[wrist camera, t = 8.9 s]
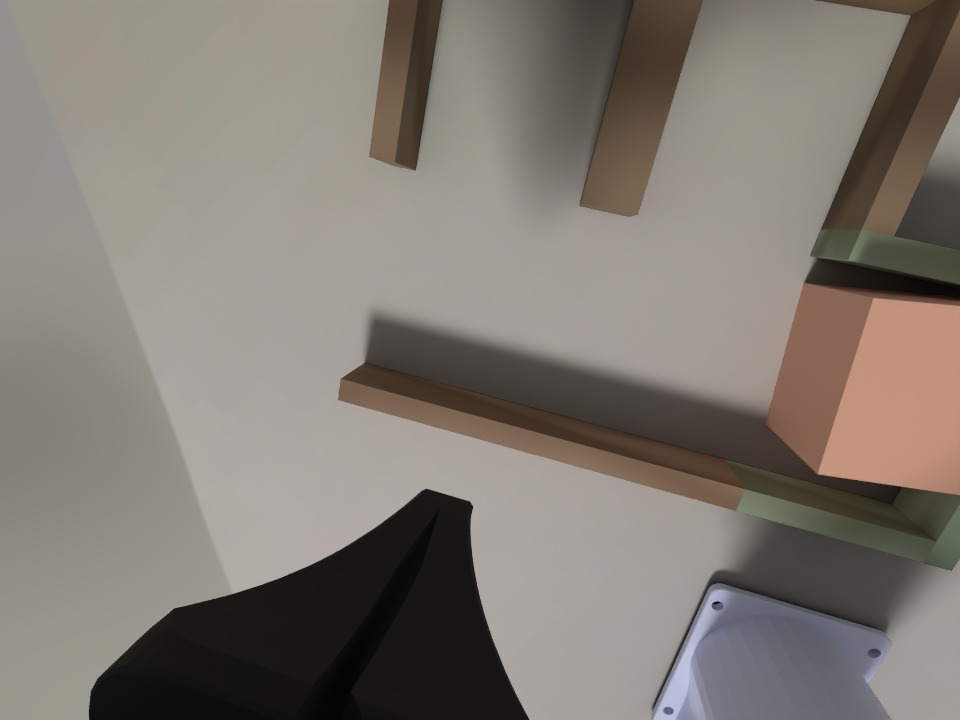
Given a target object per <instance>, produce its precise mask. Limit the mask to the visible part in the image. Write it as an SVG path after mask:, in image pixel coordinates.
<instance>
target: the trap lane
mask: <svg viewBox="0 0 960 720" xmlns="http://www.w3.org/2000/svg"><path fill="white" fill-rule="evenodd" d="M817 1H824V2H830V3H836V4H843V5H849V6H855V7H861V8H868V9H874V10H880V11H886V12H893V13H899V14H905V15H912V16H911V19H910V21H909V24H908V26H907V28H906V31H905V33H904V35H903V38H902V40H901V43H900V45H899V47H898V50H897V52H896V54H895V57H894V59H893V61H892V64H891V66H890V69H889V71H888V73H887V76H886V78H885V80H884V83H883V85H882V88H881V90H880V92H879V95H878V97H877V99H876V102H875V104H874V106H873V109H872V111H871V114H870V116H869V118H868V121H867V123H866V125H865V128H864V130H863V133H862V135H861V137H860V140H859V142H858V144H857V147H856V149H855V151H854V154H853V156H852V159H851V161H850V163H849V166H848V168H847V170H846V173H845V175H844V178H843V180H842V182H841V185H840V187H839V189H838V192H837V194H836V196H835V199H834V201H833V204H832V206H831V208H830V211H829V213H828V215H827V218H826V220H825V223H824V225H823V227H822V230H821V232H820V234H819V237H818V239H817V241H816V244H815V246H814V249H813V251H812V253H811V256H812V257H817V258H822V259H826V260H831V261H835V262H840V263H845V264H849V265H854V266H858V267H863V268H868V269H872V270H877V271H882V272H886V273H891V274H895V275H900V276H905V277H909V278H914V279H918V280H923V281H928V282H932V283H937V284H941V285H946V286H951V287H955V288H960V250H957V249H953V248H948V247H943V246H938V245H933V244H929V243H924V242H919V241H914V240H909V239H905V238H900V237H895V236H894V235H895V233H896V231H897V229H898V227H899V225H900V223H901V221H902V218H903V216H904V214H905V212H906V210H907V208H908V206H909V204H910V201H911V199H912V197H913V195H914V193H915V191H916V189H917V187H918V184H919V182H920V180H921V178H922V176H923V174H924V172H925V170H926V167H927V165H928V163H929V161H930V159H931V157H932V155H933V153H934V150H935V148H936V146H937V144H938V142H939V140H940V138H941V136H942V133H943V131H944V129H945V127H946V125H947V123H948V121H949V119H950V116H951V114H952V112H953V110H954V108H955V106H956V104H957V102H958V99H959V97H960V0H817ZM701 4H702V0H634V1H633V4H632V8H631V12H630V16H629V19H628V23H627V27H626V31H625V35H624V38H623V42H622V46H621V50H620V54H619V57H618V61H617V65H616V69H615V72H614V76H613V80H612V84H611V88H610V91H609V95H608V99H607V103H606V107H605V110H604V114H603V118H602V122H601V125H600V129H599V133H598V137H597V141H596V144H595V148H594V152H593V156H592V160H591V163H590V167H589V171H588V175H587V179H586V182H585V186H584V190H583V194H582V197H581V201H580V205H579V206H582V207H586V208H591V209H596V210H600V211H605V212H610V213H614V214H619V215H623V216H628V217H629V216H634V215H638V212H639V209H640V206H641V202H642V199H643V196H644V192H645V189H646V186H647V182H648V179H649V176H650V172H651V169H652V166H653V163H654V159H655V156H656V153H657V149H658V146H659V143H660V139H661V136H662V133H663V129H664V126H665V123H666V120H667V116H668V113H669V110H670V106H671V103H672V100H673V96H674V93H675V90H676V86H677V83H678V80H679V77H680V73H681V70H682V67H683V63H684V60H685V57H686V53H687V50H688V47H689V43H690V40H691V37H692V34H693V30H694V27H695V24H696V20H697V17H698V14H699V10H700V7H701ZM441 5H442V0H389V7H388V15H387V23H386V31H385V39H384V46H383V54H382V62H381V70H380V78H379V85H378V93H377V101H376V109H375V116H374V124H373V132H372V140H371V148H370V155H369V157H372V158H374V159H377V160H380V161H382V162H385V163H388V164H390V165H393V166H398V167H402V168H407V169H411V170H416V164H417V157H418V151H419V145H420V138H421V132H422V126H423V119H424V113H425V107H426V100H427V94H428V88H429V81H430V75H431V69H432V62H433V56H434V50H435V43H436V37H437V30H438V24H439V18H440V11H441ZM338 400H340V401H344V402H347V403H351V404H355V405H358V406H362V407H365V408H369V409H373V410H376V411H380V412H383V413H387V414H390V415H394V416H398V417H401V418H405V419H408V420H412V421H416V422H419V423H423V424H426V425H430V426H434V427H437V428H441V429H444V430H448V431H452V432H455V433H459V434H462V435H466V436H469V437H473V438H477V439H480V440H484V441H487V442H491V443H495V444H498V445H502V446H505V447H509V448H513V449H516V450H520V451H523V452H527V453H530V454H534V455H538V456H541V457H545V458H548V459H552V460H556V461H559V462H563V463H566V464H570V465H574V466H577V467H581V468H584V469H588V470H591V471H595V472H599V473H602V474H606V475H609V476H613V477H617V478H620V479H624V480H627V481H631V482H635V483H638V484H642V485H645V486H649V487H652V488H656V489H660V490H663V491H667V492H670V493H674V494H678V495H681V496H685V497H688V498H692V499H696V500H699V501H703V502H706V503H710V504H713V505H717V506H721V507H724V508H728V509H731V510H735V511H739V512H742V513H746V514H749V515H753V516H757V517H760V518H764V519H767V520H771V521H775V522H778V523H782V524H785V525H789V526H792V527H796V528H800V529H803V530H807V531H810V532H814V533H818V534H821V535H825V536H828V537H832V538H836V539H839V540H843V541H846V542H850V543H853V544H857V545H861V546H864V547H868V548H871V549H875V550H879V551H882V552H886V553H889V554H893V555H897V556H900V557H904V558H907V559H911V560H914V561H918V562H922V563H925V564H929V565H932V566H936V567H940V568H943V569H947V570H950V571H952V570H953V568H954V566H955V565H956V563H957V562H958V560H959V559H960V495H955V494H949V493H942V492H935V491H928V490H921V489H915V488H908V487H902V488H901V489H900V491H899V493H898V495H897V496H896V498H895V500H894V502H893V504H889V503H886V502H882V501H878V500H874V499H871V498H867V497H863V496H860V495H856V494H852V493H848V492H845V491H841V490H837V489H833V488H830V487H826V486H822V485H818V484H815V483H811V482H807V481H803V480H800V479H796V478H792V477H789V476H785V475H781V474H777V473H774V472H770V471H766V470H762V469H759V468H755V467H751V466H747V465H744V464H740V463H736V462H733V461H729V460H725V459H721V458H718V457H714V456H710V455H706V454H703V453H699V452H695V451H691V450H688V449H684V448H680V447H676V446H673V445H669V444H665V443H662V442H658V441H654V440H650V439H647V438H643V437H639V436H635V435H632V434H628V433H624V432H620V431H617V430H613V429H609V428H605V427H602V426H598V425H594V424H591V423H587V422H583V421H579V420H576V419H572V418H568V417H564V416H561V415H557V414H553V413H549V412H546V411H542V410H538V409H534V408H531V407H527V406H523V405H520V404H516V403H512V402H508V401H505V400H501V399H497V398H493V397H490V396H486V395H482V394H478V393H475V392H471V391H467V390H463V389H460V388H456V387H452V386H449V385H445V384H441V383H437V382H434V381H430V380H426V379H422V378H419V377H415V376H411V375H407V374H404V373H400V372H396V371H392V370H389V369H385V368H381V367H378V366H374V365H370V364H366V363H364V364H363V365H361V366H359V367H358V368H356V369H355V370H353V371H352V372H350V373H349V374H347V375H346V376H344V377H343V378H341V381H340V389H339V397H338Z"/></svg>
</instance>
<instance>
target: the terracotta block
mask: <svg viewBox="0 0 960 720" xmlns="http://www.w3.org/2000/svg"><path fill="white" fill-rule="evenodd" d="M765 424H766V425H767V426H768V427H769V428H770V429H771V430H772V431H773V432H774V433H776V434H777V435H778V436H779V437H780V438H781V439H782V440H783V441H784V442H785V443H786V444H787V445H788V446H789V447H790V448H791V449H792V450H793V451H794V452H795V453H796V454H797V455H798V456H799V457H800V458H801V459H802V460H803V461H804V462H805V463H806V464H807V465H809V466H810V467H811V468H812V469H813V470H814V471H815V472H816V473H817V474H819V475H826V476H833V477H839V478H846V479H853V480H860V481H867V482H874V483H880V484H887V485H894V486H901V487H908V488H915V489H921V490H928V491H935V492H942V493H949V494H955V495H960V297H955V296H944V295H933V294H922V293H911V292H900V291H889V290H878V289H867V288H856V287H845V286H834V285H823V284H812V283H804V284H803V288H802V291H801V295H800V299H799V302H798V306H797V310H796V313H795V317H794V321H793V324H792V328H791V332H790V335H789V339H788V343H787V346H786V350H785V354H784V357H783V361H782V365H781V368H780V372H779V375H778V379H777V383H776V386H775V390H774V394H773V397H772V401H771V405H770V408H769V412H768V416H767V419H766V423H765Z"/></svg>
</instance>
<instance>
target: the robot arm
mask: <svg viewBox="0 0 960 720" xmlns="http://www.w3.org/2000/svg"><path fill="white" fill-rule="evenodd" d="M472 509H473V506H472V504H471V502H470V501H466V500H463V499H459V498H456V497H453V496H449V495H446V494H442V493H439V492H436V491H432V490H429V489H425V490H423V491H421V492H420V493H419V494H418V495H417V496H415V497H414V498H413V499H412V500H411V501H410V502H408V503H407V504H406V505H405V506H404V507H402V508H401V509H400V510H399V511H397V512H396V513H395V514H393V515H392V516H391V517H389V518H388V519H387V520H385V521H384V522H383V523H381V524H380V525H378V526H377V527H376V528H374V529H373V530H371V531H370V532H368V533H367V534H365V535H363V536H362V537H360V538H359V539H357V540H356V541H354V542H353V543H351V544H349V545H348V546H346V547H344V548H343V549H341V550H339V551H337V552H335V553H334V554H332V555H330V556H328V557H326V558H324V559H322V560H320V561H318V562H316V563H314V564H312V565H310V566H308V567H305V568H303V569H301V570H298V571H296V572H294V573H291V574H289V575H287V576H284V577H282V578H279V579H277V580H274V581H271V582H268V583H265V584H263V585H260V586H257V587H254V588H251V589H247V590H244V591H241V592H238V593H235V594H231V595H228V596H224V597H220V598H216V599H212V600H208V601H204V602H200V603H196V604H192V605H188V606H184V607H179V608H174V609H173V610H172V611H171V612H170V613H169V614H167V615H166V616H165V617H164V618H162V619H161V620H160V621H159V622H157V623H156V624H155V625H154V626H152V628H150V629H149V630H148V631H147V632H146V633H145V634H144V635H143V636H142V637H140V638H139V639H138V640H137V641H136V642H135V643H134V644H133V645H132V646H131V647H130V648H129V649H128V650H127V651H126V652H125V653H124V654H123V655H122V656H121V657H120V658H119V659H118V660H117V661H115V662H114V663H113V664H112V665H111V666H110V667H109V668H108V669H107V670H106V671H105V672H104V673H103V674H102V675H101V676H100V677H99V678H98V679H97V681H96V683H95V685H94V686H93V688H92V690H91V696H90V705H89V720H529V718H528V716H527V715H526V713H525V711H524V709H523V707H522V705H521V703H520V701H519V699H518V697H517V695H516V693H515V691H514V689H513V687H512V685H511V682H510V680H509V678H508V676H507V674H506V672H505V669H504V667H503V664H502V662H501V659H500V657H499V654H498V652H497V649H496V647H495V644H494V642H493V639H492V636H491V633H490V630H489V627H488V624H487V621H486V618H485V614H484V611H483V607H482V604H481V600H480V596H479V591H478V587H477V582H476V577H475V571H474V565H473V557H472V548H471V534H470V523H471V514H472ZM716 601H719V602H720V603H718V604H712V603H713V602H716ZM891 645H892V643H891V640H890V639H889V638H888V637H887V635H886V634H885V633H884V632H882V631H880V630H877V629H874V628H870V627H867V626H863V625H860V624H857V623H853V622H850V621H847V620H843V619H840V618H836V617H833V616H830V615H826V614H823V613H820V612H816V611H813V610H809V609H806V608H803V607H799V606H796V605H793V604H789V603H786V602H782V601H779V600H776V599H772V598H769V597H765V596H762V595H759V594H755V593H752V592H749V591H745V590H742V589H738V588H735V587H732V586H728V585H725V584H720V583H717V584H713V585H712V586H710V587H709V589H708V591H707V593H706V595H705V597H704V600H703V602H702V604H701V606H700V608H699V611H698V613H697V615H696V617H695V619H694V622H693V624H692V626H691V628H690V630H689V633H688V635H687V637H686V639H685V641H684V644H683V646H682V648H681V650H680V652H679V655H678V657H677V659H676V661H675V664H674V666H673V668H672V670H671V672H670V675H669V677H668V679H667V681H666V683H665V686H664V688H663V690H662V692H661V694H660V697H659V699H658V701H657V703H656V705H655V708H654V710H653V712H652V714H651V720H892V719H891V718H890V716H889V715H888V713H887V712H886V710H885V709H884V707H883V706H882V704H881V703H880V701H879V700H878V698H877V697H876V695H875V694H874V692H873V691H872V689H871V688H870V686H869V685H868V682H869V681H870V679H871V678H872V676H873V675H874V673H875V671H876V670H877V668H878V667H879V665H880V664H881V662H882V660H883V659H884V657H885V656H886V654H887V652H888V651H889V649H890V648H891ZM870 649H873V650H870Z"/></svg>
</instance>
